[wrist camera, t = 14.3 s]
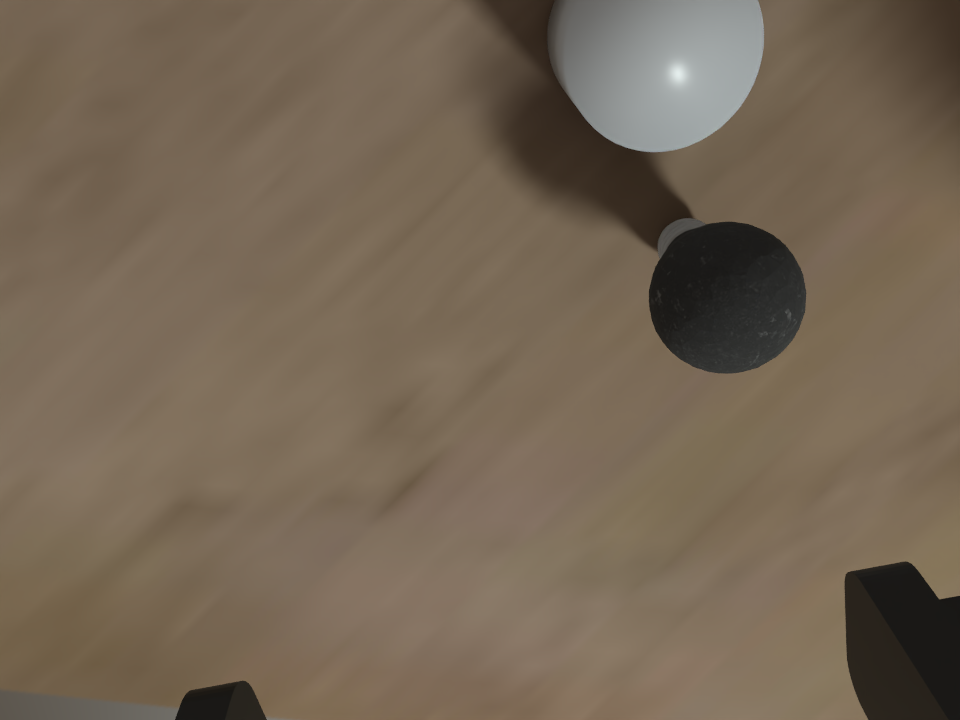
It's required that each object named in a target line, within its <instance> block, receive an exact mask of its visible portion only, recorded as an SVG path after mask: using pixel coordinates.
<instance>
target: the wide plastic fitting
mask: <svg viewBox="0 0 960 720" xmlns="http://www.w3.org/2000/svg"><path fill="white" fill-rule="evenodd" d="M547 46H548V54H549V59H550V63H551V66H552V69H553V71H554V74H555V76H556V78H557V80H558V82H559V84H560V85H561V87H562V88H563V89H564V91H565V92H566V94H567V95H568V96H569V98H570V99H571V100H572V102H573V103H574V104H575V106H576V107H577V108H578V110H579V111H580V112H581V114H582V115H583V116H584V118H585V119H586V120H587V121H588V123H589V124H590V125H591V126H592V127H593V128H594V129H595V130H596V131H598V132H599V133H600V134H602V135H603V136H604V137H605V138H607V139H609V140H611V141H612V142H614V143H616V144H619V145H621V146H623V147H626V148H629V149H633V150H637V151H645V152H665V151H671V150H677V149H680V148H683V147H687V146H689V145H692V144H694V143H697V142H699V141H701V140H702V139H704V138H706V137H708V136H709V135H711V134H712V133H714V132H715V131H716V130H718V129H719V128H720V127H722V126H723V125H724V124H725V123H726V122H727V121H728V120H729V119H730V118H731V117H732V116H733V115H734V114H735V112H736V111H737V110H738V109H739V108H740V106H741V105H742V103H743V102H744V100H745V99H746V97H747V96H748V94H749V92H750V90H751V88H752V86H753V84H754V82H755V79H756V76H757V74H758V71H759V68H760V63H761V59H762V54H763V46H764V26H763V19H762V13H761V9H760V6H759V2H758V0H555V1H554V3H553V6H552V9H551V13H550V17H549V22H548V29H547Z"/></svg>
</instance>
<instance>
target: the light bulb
mask: <svg viewBox="0 0 960 720" xmlns="http://www.w3.org/2000/svg"><path fill="white" fill-rule="evenodd" d="M658 254H659V258H660V260H659V262H658V264H657V266H656V267H655V270H654V273H653V276H652V280H651V285H650V289H649V307H650V312H651V318H652V321H653V324H654V327H655V330H656V332H657V333H658V335H659V337H660V338H661V340H662V342H663V343H664V344H665V345H666V346H667V348H668V349H669V350H670V351H671V352H672V353H673V354H675V355H676V356H677V357H678V358H679V359H681V360H683V361H684V362H686V363H688V364H690V365H691V366H693V367H696V368H699V369H702V370H705V371H708V372H714V373H739V372H744V371H747V370H751V369H754V368H758V367H760V366H761V365H763V364H765V363H767V362H768V361H770V360H772V359H773V358H775V357H776V356H778V355H779V354H780V353H781V352H782V351H783V350H784V349H785V348H786V347H787V346H788V345H789V343H790V342H791V341H792V340H793V338H794V336H795V335H796V333H797V331H798V330H799V327H800V324H801V321H802V319H803V316H804V313H805V302H806V289H805V283H804V278H803V274H802V271H801V269H800V267H799V265H798V263H797V261H796V260H795V258H794V256H793V254H792V253H791V252H790V251H789V249H788V248H787V247H786V245H785V244H783V243H782V242H781V241H780V240H779V239H777V238H776V237H775V236H774V235H772V234H770V233H768V232H766V231H764V230H762V229H760V228H757V227H754V226H752V225H749V224H744V223H737V222H719V223H712V224H707V225H706V224H705V223H703V222H702V221H700V220H696V219H693V218H683V219H679V220H676V221H674V222H673V223H671V224H669V225H668V226H667V227H666V228H665V229H664V230H663V231H662V233H661V235H660V237H659V240H658Z"/></svg>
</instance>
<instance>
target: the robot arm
mask: <svg viewBox="0 0 960 720" xmlns="http://www.w3.org/2000/svg"><path fill="white" fill-rule="evenodd" d="M845 613H846V645H847V661H848V667H849V672H850V676H851V680H852V683H853V686H854V689H855V692H856V695H857V697H858V700H859V702H860V704H861V706H862V708H863V710H864V712H865V714H866V716H867V718H868V720H960V596H956V597H951V598H945V599H938V597H937V596H936V595H935V593H934V592H933V591H932V589H931V588H930V586H929V585H928V584H927V582H926V581H925V580H924V578H923V577H922V576H921V574H920V573H919V572H918V570H917V569H916V568H915V567H914V566H913V565H912V564H911V563H909V562H900V563H895V564H889V565H884V566H878V567H873V568H867V569H862V570H856V571H851V572H848V573H847V574H846V576H845ZM175 720H267V719H266V717H265V715H264V713H263V710H262V708H261V706H260V704H259V702H258V700H257V697H256V695H255V693H254V691H253V689H252V687H251V686H250V685H249V683H247V682H246V681H239V682H234V683H228V684H223V685H217V686H212V687H206V688H201V689H195V690H191V691H189V692H188V693H187V694H186V695H185V696H184V698H183V700H182V702H181V705H180V708H179V710H178V713H177V716H176V719H175Z"/></svg>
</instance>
